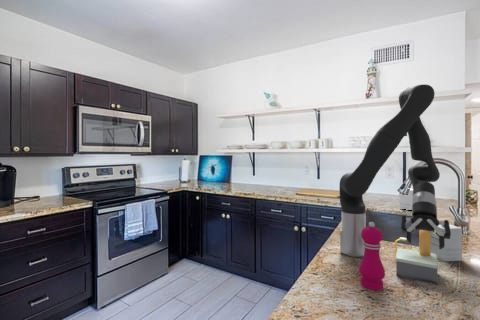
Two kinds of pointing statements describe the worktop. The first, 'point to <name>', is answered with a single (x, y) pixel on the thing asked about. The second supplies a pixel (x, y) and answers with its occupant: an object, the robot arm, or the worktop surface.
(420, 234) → the lid
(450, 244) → the supplement box
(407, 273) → the parts tub
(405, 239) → the watch
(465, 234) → the worktop surface
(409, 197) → the supplement box
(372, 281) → the pepper mill
